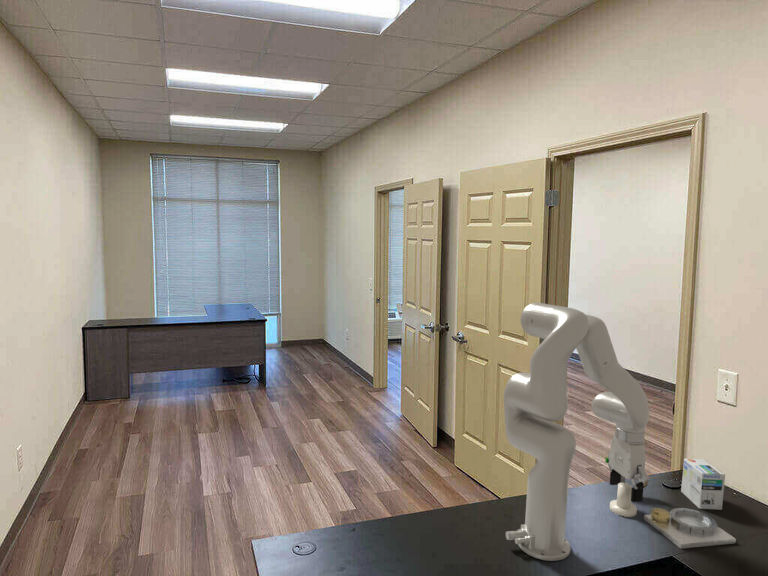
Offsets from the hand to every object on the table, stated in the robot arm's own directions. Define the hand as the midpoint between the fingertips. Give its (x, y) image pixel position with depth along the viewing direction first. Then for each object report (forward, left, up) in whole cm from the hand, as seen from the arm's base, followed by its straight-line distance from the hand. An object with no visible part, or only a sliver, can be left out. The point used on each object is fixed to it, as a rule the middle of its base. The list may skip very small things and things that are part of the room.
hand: (625, 492), depth 156 cm
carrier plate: (+11, -12, -5) cm, 17 cm away
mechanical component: (+7, +11, -5) cm, 14 cm away
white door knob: (0, 0, -5) cm, 5 cm away
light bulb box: (+27, +2, -6) cm, 27 cm away
